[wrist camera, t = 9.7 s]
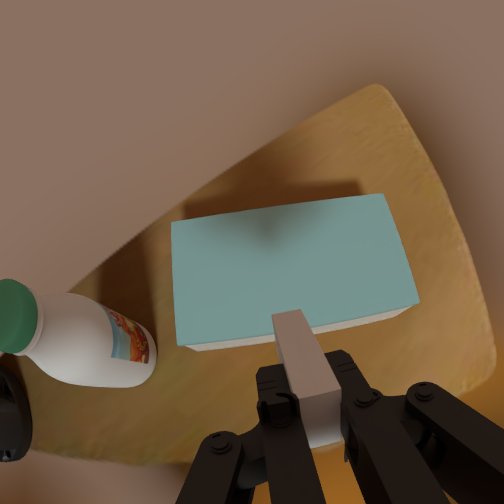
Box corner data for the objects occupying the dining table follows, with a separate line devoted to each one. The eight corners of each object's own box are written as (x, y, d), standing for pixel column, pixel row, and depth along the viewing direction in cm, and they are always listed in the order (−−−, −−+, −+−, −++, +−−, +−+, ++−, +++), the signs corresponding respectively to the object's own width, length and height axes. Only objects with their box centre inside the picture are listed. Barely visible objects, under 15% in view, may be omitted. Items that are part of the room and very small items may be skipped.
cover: (179, 346, 27) (177, 345, 26) (173, 226, 32) (171, 222, 31) (416, 304, 27) (419, 302, 26) (380, 197, 32) (382, 193, 32)
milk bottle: (157, 391, 30) (32, 390, 12) (97, 382, 30) (-38, 360, 12) (161, 323, 33) (52, 253, 15) (103, 319, 33) (-19, 253, 15)
